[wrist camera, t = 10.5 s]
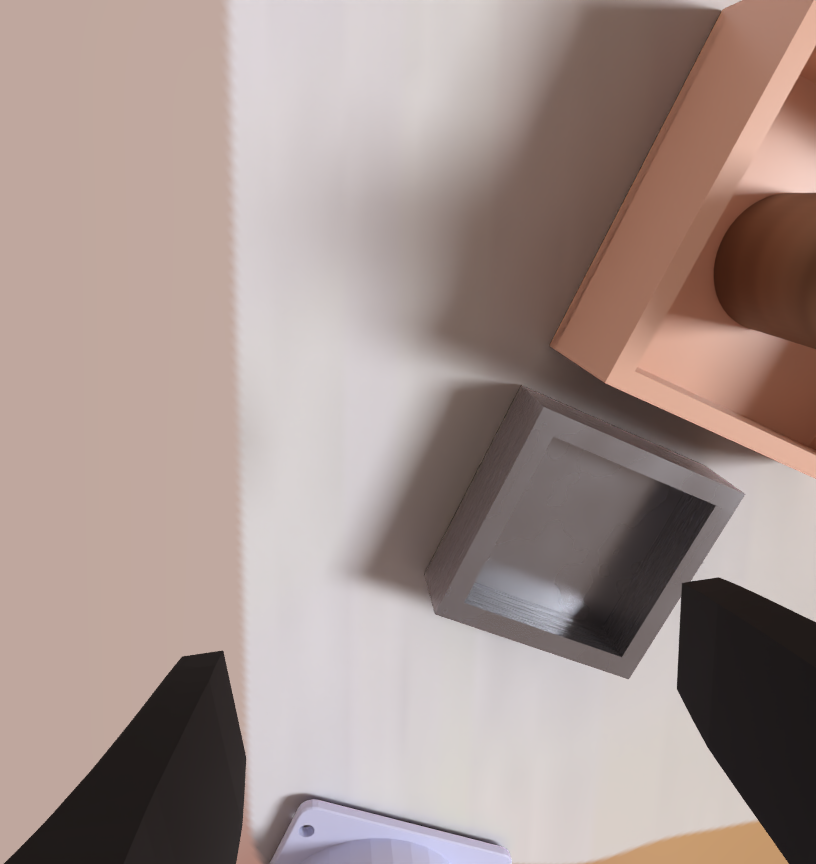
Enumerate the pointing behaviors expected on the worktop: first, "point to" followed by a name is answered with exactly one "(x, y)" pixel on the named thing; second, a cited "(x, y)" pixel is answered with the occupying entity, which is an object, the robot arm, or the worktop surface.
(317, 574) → the worktop surface
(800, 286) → the walnut strut
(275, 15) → the worktop surface
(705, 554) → the metal socket
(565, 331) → the terracotta bin
